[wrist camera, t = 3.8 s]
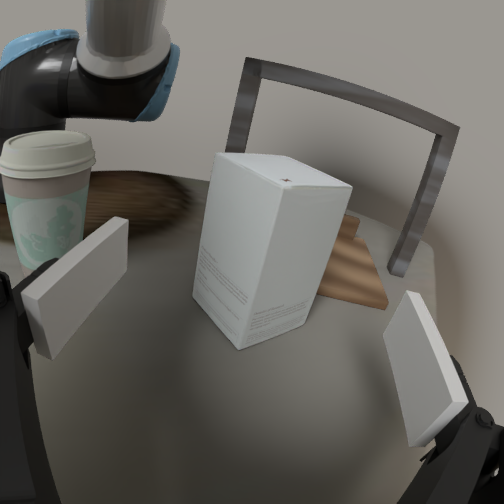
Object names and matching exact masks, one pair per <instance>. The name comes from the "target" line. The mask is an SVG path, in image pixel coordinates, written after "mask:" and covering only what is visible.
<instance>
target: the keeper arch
mask: <svg viewBox="0 0 504 504" xmlns="http://www.w3.org/2000/svg"><path fill="white" fill-rule="evenodd" d="M262 78H264V79H268V80H273V81H277V82H282V83H286V84H290V85H295V86H299V87H302V88H307V89H310V90H313V91H317V92H321V93H324V94H328V95H332V96H335V97H338V98H341V99H344V100H348V101H351V102H354V103H357V104H360V105H363V106H366V107H369V108H372V109H374V110H377V111H380V112H383V113H385V114H388V115H391V116H394V117H396V118H399V119H401V120H404V121H406V122H409V123H411V124H414V125H416V126H419V127H421V128H423V129H426V130H428V131H430V132H432V133H435V134H436V136H435V139H434V143H433V146H432V149H431V152H430V156H429V159H428V161H427V165H426V168H425V171H424V174H423V176H422V180H421V182H420V185H419V188H418V191H417V194H416V196H415V199H414V202H413V204H412V207H411V210H410V212H409V215H408V217H407V220H406V222H405V225H404V227H403V230H402V232H401V235H400V237H399V240H398V242H397V244H396V247H395V249H394V251H393V254H392V256H391V258H390V261H389V263H388V265H387V268H388V270H389V272H390V274H392V275H396V276H400V277H403V276H404V274H405V272H406V270H407V268H408V265H409V263H410V261H411V259H412V257H413V255H414V252H415V250H416V248H417V245H418V243H419V241H420V239H421V236H422V234H423V231H424V229H425V227H426V224H427V221H428V219H429V217H430V214H431V212H432V209H433V207H434V204H435V201H436V199H437V196H438V193H439V191H440V188H441V185H442V182H443V180H444V177H445V174H446V171H447V168H448V165H449V162H450V159H451V156H452V152H453V149H454V146H455V143H456V139H457V136H458V132H459V129H460V127H458V126H456V125H454V124H452V123H450V122H448V121H446V120H444V119H442V118H440V117H438V116H435V115H433V114H431V113H429V112H427V111H424V110H422V109H420V108H417V107H415V106H413V105H410V104H408V103H405V102H403V101H400V100H398V99H395V98H392V97H390V96H387V95H384V94H382V93H379V92H376V91H374V90H370V89H368V88H365V87H362V86H359V85H356V84H353V83H350V82H347V81H344V80H340V79H337V78H334V77H330V76H327V75H323V74H320V73H316V72H312V71H308V70H305V69H301V68H296V67H292V66H288V65H284V64H279V63H275V62H269V61H264V60H260V59H255V58H249V57H246V58H245V63H244V67H243V71H242V76H241V80H240V84H239V89H238V93H237V97H236V103H235V107H234V111H233V116H232V120H231V125H230V130H229V135H228V139H227V145H226V149H225V153H245V149H246V144H247V140H248V135H249V130H250V126H251V122H252V117H253V113H254V108H255V104H256V100H257V96H258V92H259V87H260V83H261V79H262ZM359 223H360V220H359V218H356V217H353V216H349V215H346V214H344V216H343V219H342V222H341V226H340V228H339V231H338V234H337V237H336V240H335V243H334V246H333V249H332V252H331V254H330V257H329V260H328V263H327V265H326V268H325V271H324V274H323V277H322V279H321V282H320V285H319V287H318V290H317V293H316V294H319V295H323V296H328V297H332V298H336V299H340V300H344V301H348V302H353V303H357V304H361V305H365V306H370V307H374V308H378V309H382V310H385V309H386V307H387V305H388V303H389V302H388V299H387V296H386V294H385V291H384V288H383V286H382V283H381V281H380V278H379V275H378V273H377V270H376V268H375V265H374V263H373V260H372V258H371V256H370V253H369V251H368V248H367V246H366V244H365V241H364V239H361V238H357V237H354V236H355V234H356V231H357V228H358V225H359Z"/></svg>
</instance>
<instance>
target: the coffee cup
mask: <svg viewBox="0 0 504 504" xmlns="http://www.w3.org/2000/svg"><path fill="white" fill-rule="evenodd" d="M94 156H95V151H94V149H93V148H92V142H91V137H90V136H89V135H87V134H85V133H81V132H75V131H63V130H54V131H39V132H32V133H26V134H22V135H18V136H15V137H12V138H10V139H8V140H7V141H5V143H4V145H3V150H2V154H1V156H0V173H1V174H2V181H3V188H4V194H5V199H6V205H7V210H8V215H9V219H10V224H11V228H12V232H13V237H14V241H15V245H16V248H17V252H18V256H19V259H20V263H21V266H22V269H23V273H24V276H25V278H26V277H27V276H28V275H30V274H31V273H32V272H33V271H34V270H37V268H38V267H39V266H40V265H42V264H43V263H44V262H46V261H48V260H51V259H53V258H55V257H56V258H59V259H60V258H62V257H63V256H64V255H65V254H66V253H68V252H69V251H70V250H71V249H73V248H74V247H75V246H76V245H78V244H79V243H80V242H81V241H83V230H84V219H85V210H86V202H87V194H88V186H89V179H90V173H91V166H93V165H94V164H95V162H96V159H95V158H94Z"/></svg>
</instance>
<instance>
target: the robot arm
mask: <svg viewBox="0 0 504 504" xmlns="http://www.w3.org/2000/svg"><path fill="white" fill-rule="evenodd" d="M165 5H166V0H86V20H87V21H86V23H87V31H86V32H85V33H84V34H83V36H82V37H81V38H80V39H79V35H78V32H77V31H75V30H70V29H58V30H46V31H40V32H35V33H31V34H27V35H24V36H21V37H18V38H16V39H14V40H12V41H11V42H10V43H8V44H7V45H6V47H5V48H4V50H3V53H2V57H1V61H0V156H1V154H2V150H3V145H4V143H5V141H7V140H8V139H10V138H12V137H15V136H18V135H22V134H26V133H32V132H39V131H54V130H63V131H65V124H66V118H87V119H108V120H122V121H129V122H136V121H154V120H156V119H157V118H158V117H160V115H161V114H162V112H163V110H164V108H165V105H166V103H167V100H168V97H169V94H170V90H171V86H172V83H173V81H174V78H175V74H176V70H177V66H178V61H179V56H180V48H179V47H178V46H177V45H175V44H173V43H171V41H170V35H169V33H168V31H167V29H166V28H165V27H164V26H163V25H162V20H163V15H164V10H165ZM0 203H6V199H5V194H4V188H3V181H2V174H1V173H0ZM128 223H129V220H127V219H123V218H119V217H115V216H114V217H113V218H112V219H110V220H109V221H108V222H106V223H105V224H104V225H102V226H101V227H100V228H98V229H97V230H96V231H94V232H93V233H92V234H90V235H89V236H88V237H87V238H85V239H84V240H83V241H81V242H80V243H79V244H78V245H76V246H75V247H74V248H73V249H71V250H70V251H69V252H68V253H66V254H65V255H64V256H63V257H62V258H60V259H59V258H56V257H55V258H53V259H51V260H48V261H46V262H44V263H43V264H42V265H40V266H39V267H38V268H37V270H34V271H33V272H32V273H31V274H30V275H28V276H27V277H26V278H25V279H24V280H22V281H21V282H20V283H19V284H18V285H17V286H15V287H14V288H13V289H11V284H10V279H9V276H8V275H7V274H6V273H4V272H1V271H0V504H61V501H60V498H59V495H58V492H57V489H56V486H55V483H54V480H53V476H52V473H51V469H50V466H49V462H48V458H47V454H46V450H45V446H44V441H43V437H42V432H41V428H40V422H39V417H38V412H37V406H36V400H35V393H34V386H33V378H32V369H31V359H30V352H29V349H28V348H29V346H30V345H31V344H32V343H33V342H34V345H35V348H36V351H37V353H38V354H40V355H42V356H44V357H46V358H48V359H50V360H52V361H53V360H54V358H55V357H56V356H57V355H58V353H59V352H60V351H61V349H62V348H63V347H64V346H65V344H66V343H67V342H68V340H69V339H70V338H71V337H72V335H73V334H74V333H75V332H76V330H77V329H78V328H79V327H80V326H81V324H82V323H83V322H84V321H85V319H86V318H87V317H88V316H89V315H90V313H91V312H92V311H93V310H94V309H95V307H96V306H97V305H98V304H99V303H100V301H101V300H102V299H103V298H104V297H105V296H106V294H107V293H108V292H109V291H110V290H111V289H112V287H113V286H114V285H115V284H116V283H117V282H118V280H119V279H120V278H121V277H122V276H123V275H124V274H125V273H126V271H127V247H128ZM383 338H384V342H385V345H386V349H387V353H388V356H389V360H390V364H391V368H392V372H393V376H394V380H395V384H396V388H397V392H398V396H399V401H400V405H401V409H402V414H403V419H404V423H405V428H406V433H407V438H408V443H409V447H425V446H426V445H427V444H428V443H429V442H431V441H432V440H433V439H434V438H435V442H436V446H435V447H434V448H432V449H431V450H430V451H429V452H428V453H427V454H426V455H425V456H423V457H422V458H421V459H420V461H421V462H422V461H423V460H424V459H426V460H425V461H424V463H423V465H422V466H421V468H420V469H419V471H418V473H417V474H416V476H415V477H414V479H413V480H412V482H411V484H410V485H409V487H408V488H407V490H406V491H405V492H404V494H403V495H402V497H401V498H400V500H399V501H398V502H397V504H504V427H503V426H500V425H496V424H495V422H494V419H493V417H492V416H491V414H490V413H489V412H488V411H487V410H485V409H483V408H481V407H477V405H476V402H475V400H474V398H473V395H472V392H471V390H470V388H469V385H468V383H466V378H465V376H464V375H463V372H462V369H461V367H460V364H459V363H458V362H457V361H456V360H455V358H454V357H453V356H451V355H449V353H448V351H447V349H446V347H445V345H444V342H443V340H442V338H441V336H440V334H439V332H438V330H437V327H436V325H435V323H434V321H433V319H432V317H431V315H430V313H429V311H428V309H427V307H426V305H425V303H424V301H423V300H422V298H421V296H420V294H419V293H415V292H411V291H407V290H406V292H405V294H404V296H403V298H402V300H401V302H400V304H399V306H398V308H397V309H396V311H395V313H394V315H393V317H392V319H391V321H390V323H389V324H388V326H387V328H386V330H385V332H384V333H383ZM498 468H499V471H498V474H497V475H496V476H494V472H495V470H496V469H498Z"/></svg>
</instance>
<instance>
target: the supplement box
mask: <svg viewBox="0 0 504 504" xmlns="http://www.w3.org/2000/svg"><path fill="white" fill-rule="evenodd" d="M352 188H353V187H352V186H351V185H349V184H346V183H344V182H342V181H340V180H338V179H336V178H334V177H332V176H329V175H327V174H325V173H323V172H321V171H319V170H316V169H314V168H312V167H310V166H308V165H305V164H303V163H301V162H299V161H296V160H294V159H292V158H290V157H287V156H279V155H267V154H249V153H215V158H214V163H213V168H212V174H211V179H210V185H209V190H208V196H207V202H206V208H205V214H204V220H203V226H202V233H201V239H200V246H199V252H198V260H197V266H196V272H195V279H194V287H193V294H192V297H193V298H194V299H195V300H196V301H197V303H198V304H199V305H200V306H201V307H202V309H203V310H204V311H205V312H206V313H207V314H208V316H209V317H210V318H211V319H212V320H213V322H214V323H215V324H216V325H217V326H218V327H219V329H220V330H221V331H222V332H223V333H224V334H225V336H226V337H227V338H228V339H229V340H230V341H231V342H232V344H233V345H234V346H235V347H236V348H237V349H238V350H241V349H244V348H247V347H249V346H252V345H255V344H257V343H260V342H262V341H265V340H268V339H270V338H273V337H275V336H278V335H280V334H283V333H285V332H288V331H290V330H292V329H295V328H297V327H299V326H301V325H303V324H304V323H305V321H306V319H307V316H308V313H309V311H310V308H311V306H312V303H313V300H314V298H315V295H316V293H317V290H318V287H319V285H320V282H321V279H322V277H323V274H324V271H325V268H326V265H327V263H328V260H329V257H330V254H331V252H332V249H333V246H334V243H335V240H336V237H337V234H338V231H339V228H340V226H341V222H342V219H343V216H344V213H345V210H346V207H347V204H348V201H349V198H350V195H351V192H352Z"/></svg>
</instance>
